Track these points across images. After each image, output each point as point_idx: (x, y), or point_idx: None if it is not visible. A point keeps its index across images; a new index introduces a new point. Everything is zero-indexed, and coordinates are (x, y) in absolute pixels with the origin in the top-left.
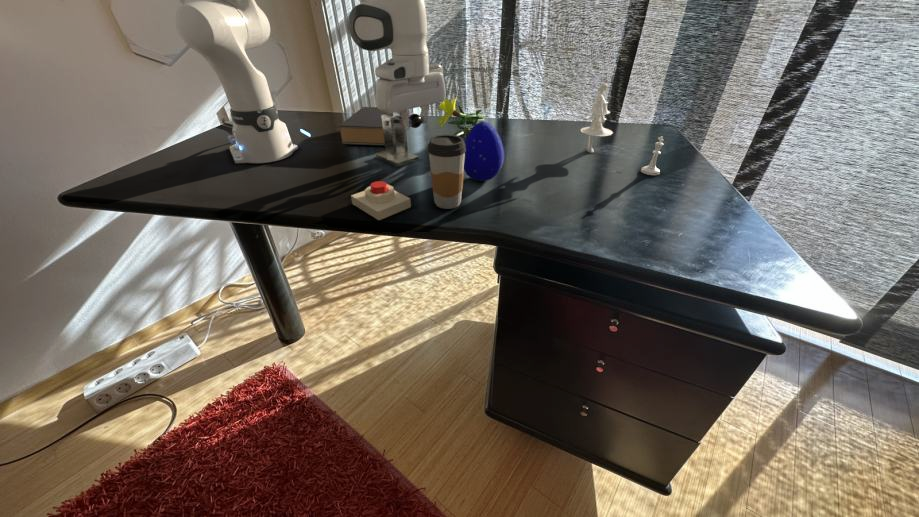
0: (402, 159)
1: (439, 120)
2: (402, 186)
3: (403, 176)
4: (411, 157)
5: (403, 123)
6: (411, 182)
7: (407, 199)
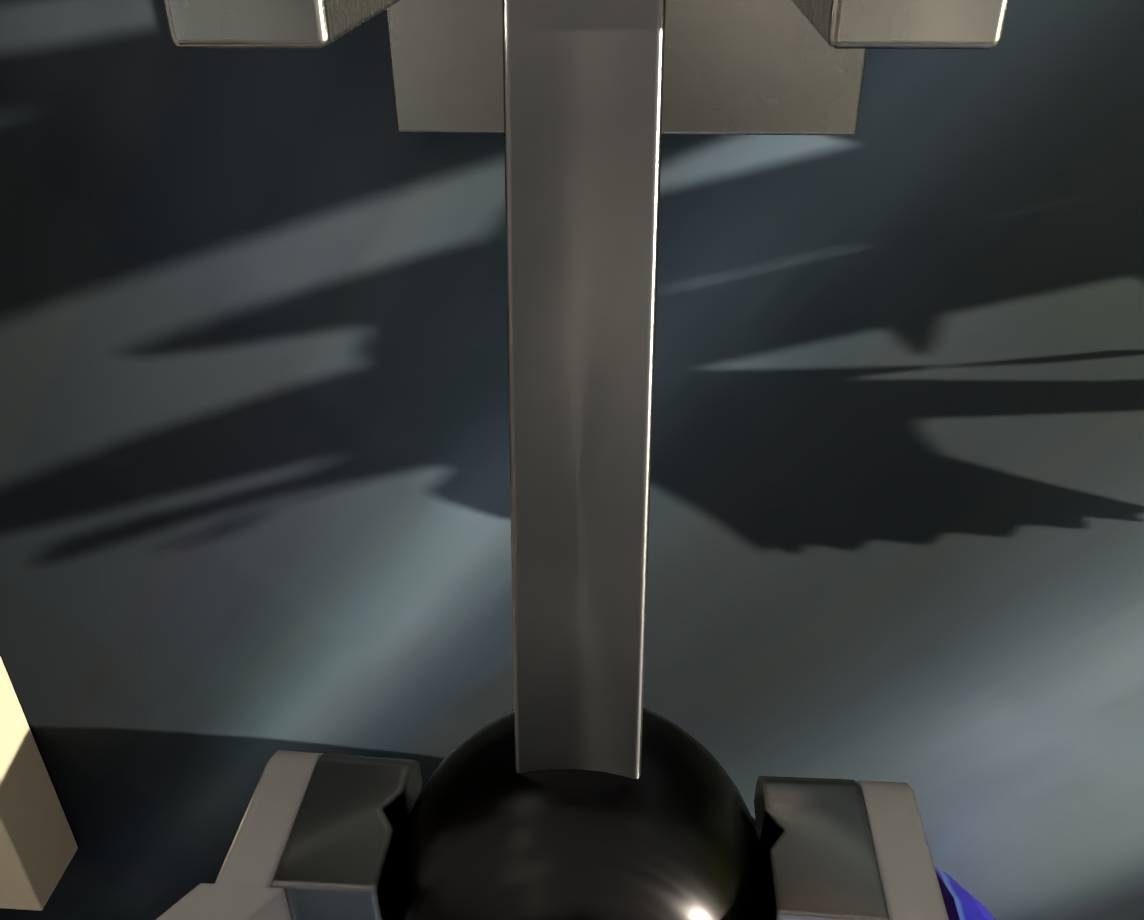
0: None
1: None
2: (181, 581)
3: (314, 411)
4: (730, 88)
5: (255, 793)
6: (305, 575)
7: (15, 907)
